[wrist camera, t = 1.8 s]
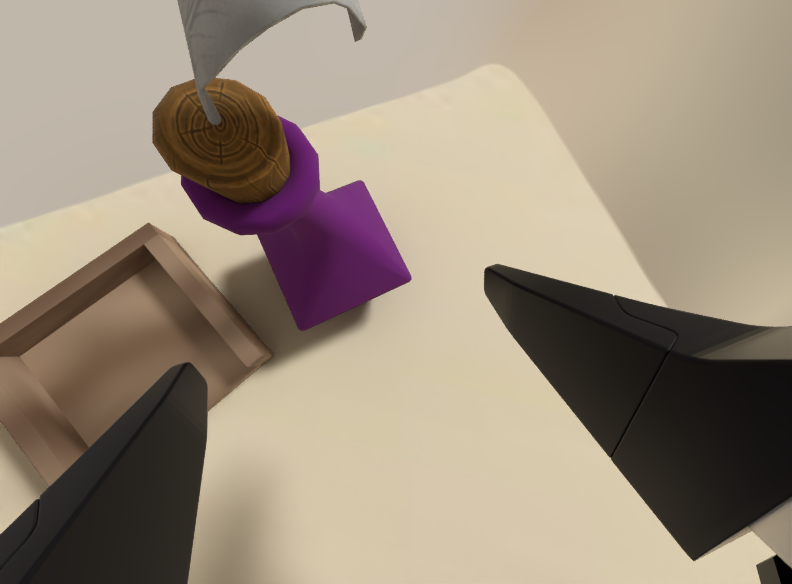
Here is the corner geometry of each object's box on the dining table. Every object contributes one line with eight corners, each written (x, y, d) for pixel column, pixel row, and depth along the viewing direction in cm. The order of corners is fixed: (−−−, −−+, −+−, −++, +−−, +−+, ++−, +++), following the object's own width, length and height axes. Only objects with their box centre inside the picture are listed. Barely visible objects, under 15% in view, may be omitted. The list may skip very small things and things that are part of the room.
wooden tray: (273, 355, 21) (261, 355, 18) (110, 494, 18) (70, 516, 16) (173, 237, 21) (148, 222, 19) (5, 355, 19) (-48, 356, 17)
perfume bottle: (310, 335, 21) (18, 255, 3) (268, 241, 22) (-124, -194, 4) (406, 290, 22) (553, 61, 5) (363, 202, 23) (348, -258, 6)
